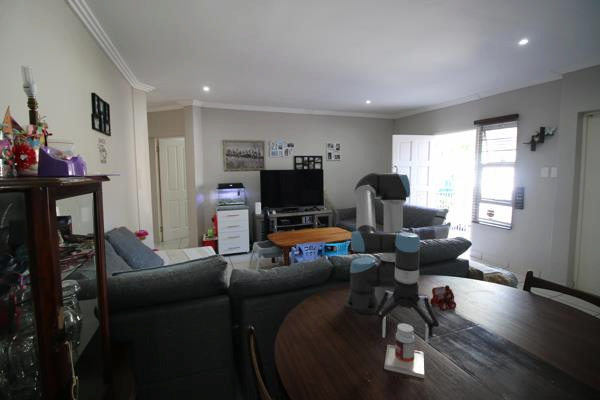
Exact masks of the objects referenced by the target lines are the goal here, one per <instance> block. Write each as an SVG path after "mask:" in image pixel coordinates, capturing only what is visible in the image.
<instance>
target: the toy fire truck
mask: <svg viewBox="0 0 600 400" xmlns="http://www.w3.org/2000/svg"><path fill="white" fill-rule="evenodd" d="M431 293H432V298H430V300H429V303H430V305H431V307H438V309H439V311H441V312H446V311H447V310H448V309H450V310H455V309H456V308H457V302H456V301H455V294H454V292H453V290H452V289H451V288H450V286H449V285H446V284H445V286H444V285H443V286H442V285H441V286H437V287H433V288H432V290H431Z"/></svg>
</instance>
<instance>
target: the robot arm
mask: <svg viewBox="0 0 600 400" xmlns="http://www.w3.org/2000/svg"><path fill="white" fill-rule="evenodd" d="M354 197H355V200H356V222H355V223H356V227H355V228H356V231H351V235H350V236H351V237H350V248H351V249H350V250H351V251H353V252H356V253H357V252H358V253H375V254H377V253H378V254H380V253H381V254H383V255H381V257H380V259H379V262H378V261H377V260H376V258H373V257H367V256H366V257H358V258H356V259H354V260H352V261H351V262H350V270H349V273H350V282H349V283H350V291H349V294H348V296H347V299H346V308H347V307H348V308H349V309H350V310H349V309H348V308H347V309H348V310H349V311H351V312H353V311H354V312H353V313H355V312H356V313H355V314H359V313H360V314H359V315H372V314H373V315H374V317H378V319H379V321H378V322H379V323H378V324H379V327H380V328H382V335H381V336H382V338H386V328H387V327H386V326H387V325H386V322H387V321H386V317H387V316H388V314H389V313H391V312H392V311H393V310H394V309H396V308H397V307H398V306H399V307H400V308H407V309H412V308H413V309H414V311H415V312H416V313H417V314H418V315H419V316H420V317H421V319H422V320H423V321H424V322H425V332H424V333H425V335H424V338H425V339H424V340H425V341H424V343H425V344H424V346H425V347H427V348H428V347H429V337H432V336H433V329H434V328H433V327H436V328H439V326H440V324H439V320H438V318H437V315H436V313H435V312H434V310H433V308H432V307H433V306H432V305H431V304H430V300H429V296H428V295H427V294H424V295H419V285H420V284H419V280H420V254H421V253H420V252H421V251H420V250H421V243H420V242H421V239H420V235H418V234H417V233H414V232H407V231H404V220H403V219H404V215H403V214H404V206H403V205H404V204H405V203H406V202H407V199H408V198H410V197H411V184H410V179H409V176H408V175H407V174H406V173H405V172H397V171H396V172H371V173H368V174H365V175H364V176H363V177H362V178H360V179H359V180H358V182H357V183H356V186H355V188H354ZM375 198H380V202H381V203H382V204H383V231H377V226H376V224H377V223H376V209H375ZM376 288H377V289H378V288H380V289H382V288H383V289H385V290H384V293H383V296H382V298H381V300H380V302H379V300H378V296H377V294H376ZM389 289H393V291H390V290H389ZM391 297H392V298H393V301H391V303H389V304H388V305H387V306H386V307H385V308H384V309H383V307H384V306H385V304H386V302H387V300H388V299H390V298H391ZM419 301H421V302H422V304H424V306H425V308H426V310H427V313H428V314H429V316H430V317H429V316H428V315H427V314H426V312H425V311H424V310H423V309H422V307H421V306H420V304H419ZM382 309H383V310H382ZM381 310H382V311H381Z"/></svg>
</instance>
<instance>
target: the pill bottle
mask: <svg viewBox="0 0 600 400" xmlns="http://www.w3.org/2000/svg"><path fill="white" fill-rule="evenodd" d="M396 331H397V332H396V333H395V336H394V337H395V342H394V344H395V345H394V346H395V358H396V359H397V360H398V361H399V362H401V363H404V364H411V363H413V361H414V350H416V349H415V345H416V343H415V342H416V339H415V336H414V327H413V326H412V325H410V324H407V323H399V324H397V327H396Z"/></svg>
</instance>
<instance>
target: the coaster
mask: <svg viewBox="0 0 600 400" xmlns="http://www.w3.org/2000/svg"><path fill="white" fill-rule="evenodd" d="M386 346H387V347H386V353H385V360H384V367H383V368H384V370H387V371H391V372H397V373H400V374H405V375H409V376H413V377H418V378H421V379H425V365H424V364H425V363H424V360H425V359H424V351H420V350H416V349H414V361H413V363H411V364H404V363H401V362H399V361H398V360H397V359H396V358H395V345H392V344H387V345H386Z"/></svg>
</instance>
